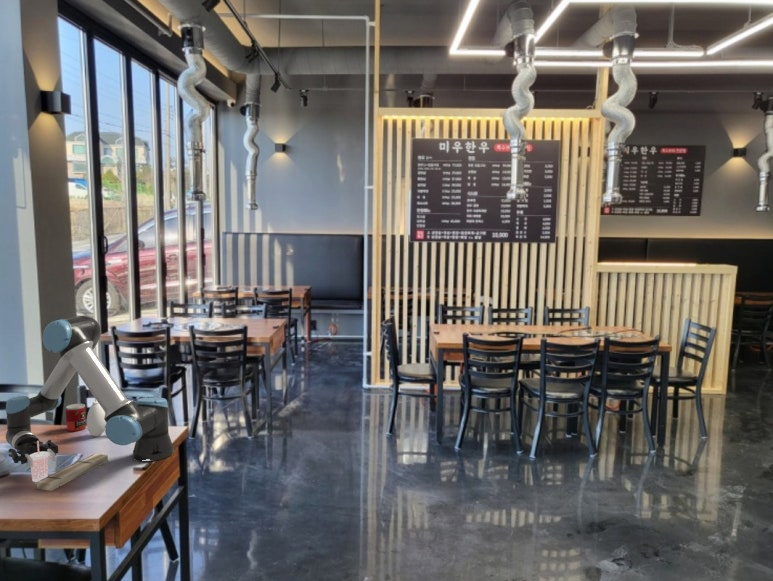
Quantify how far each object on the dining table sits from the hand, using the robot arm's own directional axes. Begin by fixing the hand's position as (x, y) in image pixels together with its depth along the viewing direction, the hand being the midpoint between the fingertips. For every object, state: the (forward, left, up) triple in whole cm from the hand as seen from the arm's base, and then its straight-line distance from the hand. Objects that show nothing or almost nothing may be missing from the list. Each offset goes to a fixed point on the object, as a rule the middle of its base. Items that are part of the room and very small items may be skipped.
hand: (42, 460), depth 184 cm
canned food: (+36, -52, -10) cm, 64 cm away
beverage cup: (+4, -3, -9) cm, 10 cm away
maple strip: (-3, -11, -9) cm, 14 cm away
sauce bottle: (+20, -47, -9) cm, 52 cm away
